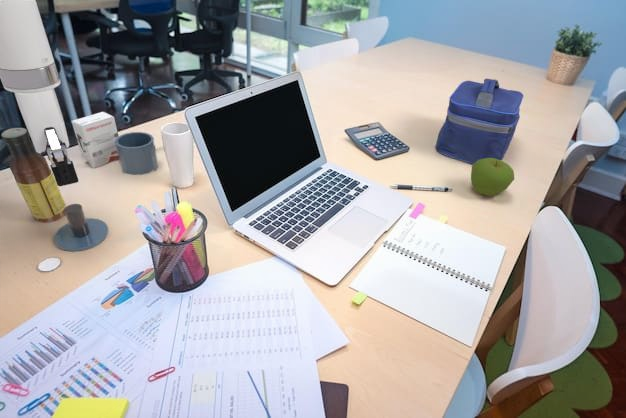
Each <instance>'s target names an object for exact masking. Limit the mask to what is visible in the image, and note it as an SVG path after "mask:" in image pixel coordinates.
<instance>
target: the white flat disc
mask: <svg viewBox="0 0 626 418" xmlns="http://www.w3.org/2000/svg"><path fill="white" fill-rule="evenodd" d="M62 265H63V263H61V258H60V257H57V256H50V257H47V258H44V259H42V260H41V261H40V262H38V264H37V265H36V267H37V270H38V271H39V273H40V274H44V272H45V274H50V273H53V272H55V271H57V270H59V269H60V268H61V266H62Z"/></svg>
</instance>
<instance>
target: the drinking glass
mask: <svg viewBox="0 0 626 418" xmlns="http://www.w3.org/2000/svg"><path fill="white" fill-rule="evenodd" d="M187 124H188V123H186V122H181V121H173V122H168V123H165V124H163V125H162V126H161V128H160V133H161V141H162V146H163V151H164V155H165V157H166V163H167V166H168V172H169V175H170V180H171V184H172V185H173V186H174V187H176V188H179V189H184V188H185V189H186V188H189V187H191V186H192V185H194V183H195V175H194V137H192V136H193V134H192V135H191V132H190V130H189V127H188V125H187Z"/></svg>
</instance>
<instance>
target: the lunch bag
mask: <svg viewBox="0 0 626 418" xmlns="http://www.w3.org/2000/svg"><path fill="white" fill-rule="evenodd" d="M523 99H524V94H523V93H522V91H518V90H513V89H506V88H502V87H500V83H499V80H498V79H492V78H485V79H483V83H482V82H477V81H473V80H465V81H462V82H461V83H459V84H458V86H457V87H456V88H455V90H454V91H453V92H452V94H450V96H449V100H448V106H447V109H446V116H445V120H444V122H443V124H442V126H441V127H440V130H439V132H438V134H437V139H436V144H435V146H434V148H435V150H436V151H437V152H439V153H440V154H442V155H444V156H446V157H450V158H452V159H455V160H459V161H463V162H466V163H469V164H472V165H474V163H475V162H476V161H478V160H480V159H485V158H495V159H498V160H501V161H503V159H504V157H505V155H506V154H507V151H508V149H509V147H510V145H511V143H512V140H513V138H514V135H515V132H516V128H517V127H518V126H517V125H518V123H519V120H520V118H521V117H520V107H521V105H522V101H523Z"/></svg>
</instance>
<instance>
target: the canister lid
mask: <svg viewBox="0 0 626 418" xmlns="http://www.w3.org/2000/svg"><path fill="white" fill-rule="evenodd" d="M65 207H66V208H65V209H64V211H65V217H66V220H67V223H66V224H64V225H63V226H61V227H60V228H59V229H58V230H57V231H56V232H55V234H54V236H53V241H54V244H55V246H56V247H57V248H58V249H61V250H62V251H65V252H81V251H86V250H89V249H92V248H94V247H97V246H98V245H100V244H101V243H102V242H104V240H105V239H106V238H107V236H108V234H109V226H108V225H107V223H106V222H105V221H103V220H101V219H99V218H94V217H93V218H91V217H89V218H88V217H87V218H86V215H85V213H84V209H83V206H82V205H81V204H79V203H72V204H69V205H67V206H65Z"/></svg>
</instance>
